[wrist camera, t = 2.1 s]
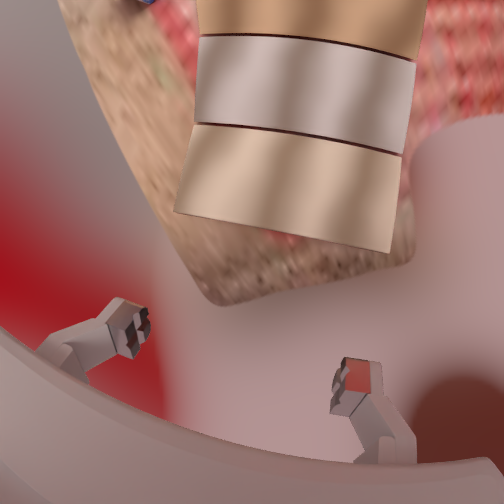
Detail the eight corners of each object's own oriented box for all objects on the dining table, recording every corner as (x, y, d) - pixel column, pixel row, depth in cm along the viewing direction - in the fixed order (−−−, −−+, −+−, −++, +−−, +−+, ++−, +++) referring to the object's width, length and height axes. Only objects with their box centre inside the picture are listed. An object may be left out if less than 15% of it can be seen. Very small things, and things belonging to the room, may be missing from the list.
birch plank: (396, 162, 22) (401, 157, 21) (384, 253, 23) (389, 253, 21) (199, 130, 25) (194, 124, 24) (180, 213, 26) (173, 211, 24)
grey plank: (411, 65, 18) (416, 63, 16) (398, 151, 22) (402, 154, 21) (206, 39, 21) (199, 37, 20) (201, 119, 25) (194, 121, 24)
